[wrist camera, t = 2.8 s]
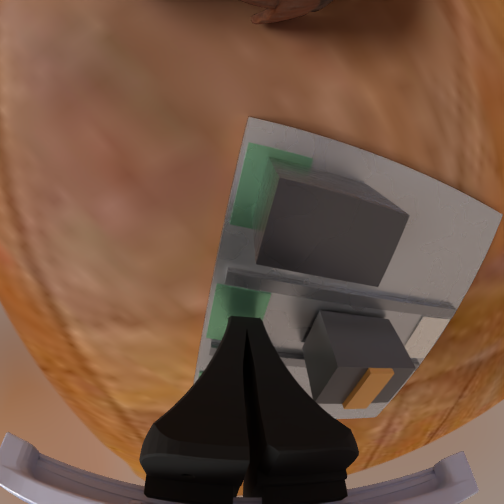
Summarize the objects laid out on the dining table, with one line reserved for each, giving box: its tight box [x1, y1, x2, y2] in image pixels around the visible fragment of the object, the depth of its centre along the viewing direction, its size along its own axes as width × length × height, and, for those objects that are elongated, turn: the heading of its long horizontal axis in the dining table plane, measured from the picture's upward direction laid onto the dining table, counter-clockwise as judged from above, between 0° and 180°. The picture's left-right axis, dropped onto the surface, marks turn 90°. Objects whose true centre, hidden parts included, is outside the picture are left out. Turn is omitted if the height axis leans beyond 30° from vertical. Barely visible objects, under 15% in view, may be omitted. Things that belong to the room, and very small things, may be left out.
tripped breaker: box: [302, 310, 416, 409], centre depth 12 cm, size 4×2×4 cm, turn 77°
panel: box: [193, 116, 502, 419], centre depth 13 cm, size 14×17×5 cm
